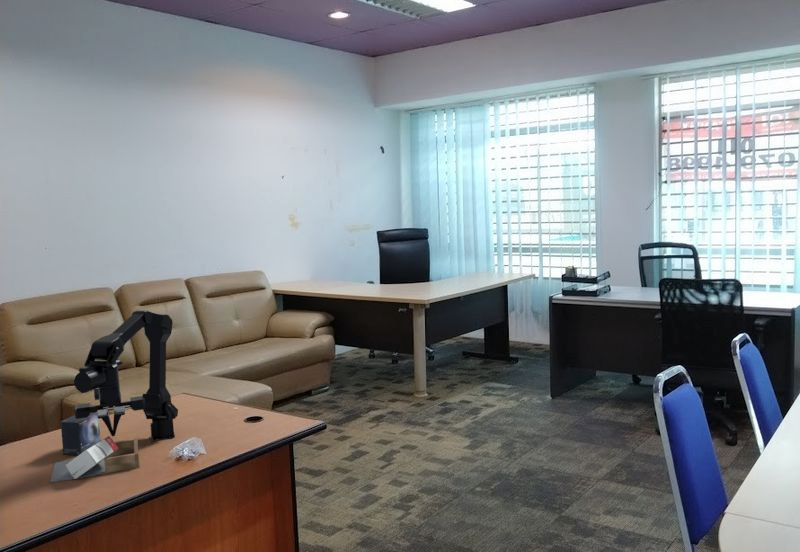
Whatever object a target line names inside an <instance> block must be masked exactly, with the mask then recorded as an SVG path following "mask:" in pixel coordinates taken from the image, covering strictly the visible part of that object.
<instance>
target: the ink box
mask: <svg viewBox="0 0 800 552" xmlns="http://www.w3.org/2000/svg"><path fill="white" fill-rule="evenodd" d="M114 442H115V441H114V439H112V438H111V435H110V436H109V435H108V436H107V437H105V438H103V439H102V440H101V441H100V442H98V443H97V444H95V445H93V446H92V447H90V448H89V449H87V450H85V451H84V452H83V453H81V454H80V455H76V456H75V458H73V459H71V460H72V461H70V462H69V463H68V464H66V465H65V466H66V468H67V470H68V471H69V472H70V474H71V475H72V476H73V478H74V479H73V480H76V478H77V479H79V478H78V477H79V476H81V475H82V474H84V473H85V472H87V471H88V470H90V469H91V468H92V467H94V466H95V465H97V464H98V463H100V462H101V461H102V460H104V458H109V457H108V456H109V455H110V454H112V453H113V452H114V451H116V450H117V449H118V447H117V446H116V444H115V443H114Z"/></svg>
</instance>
